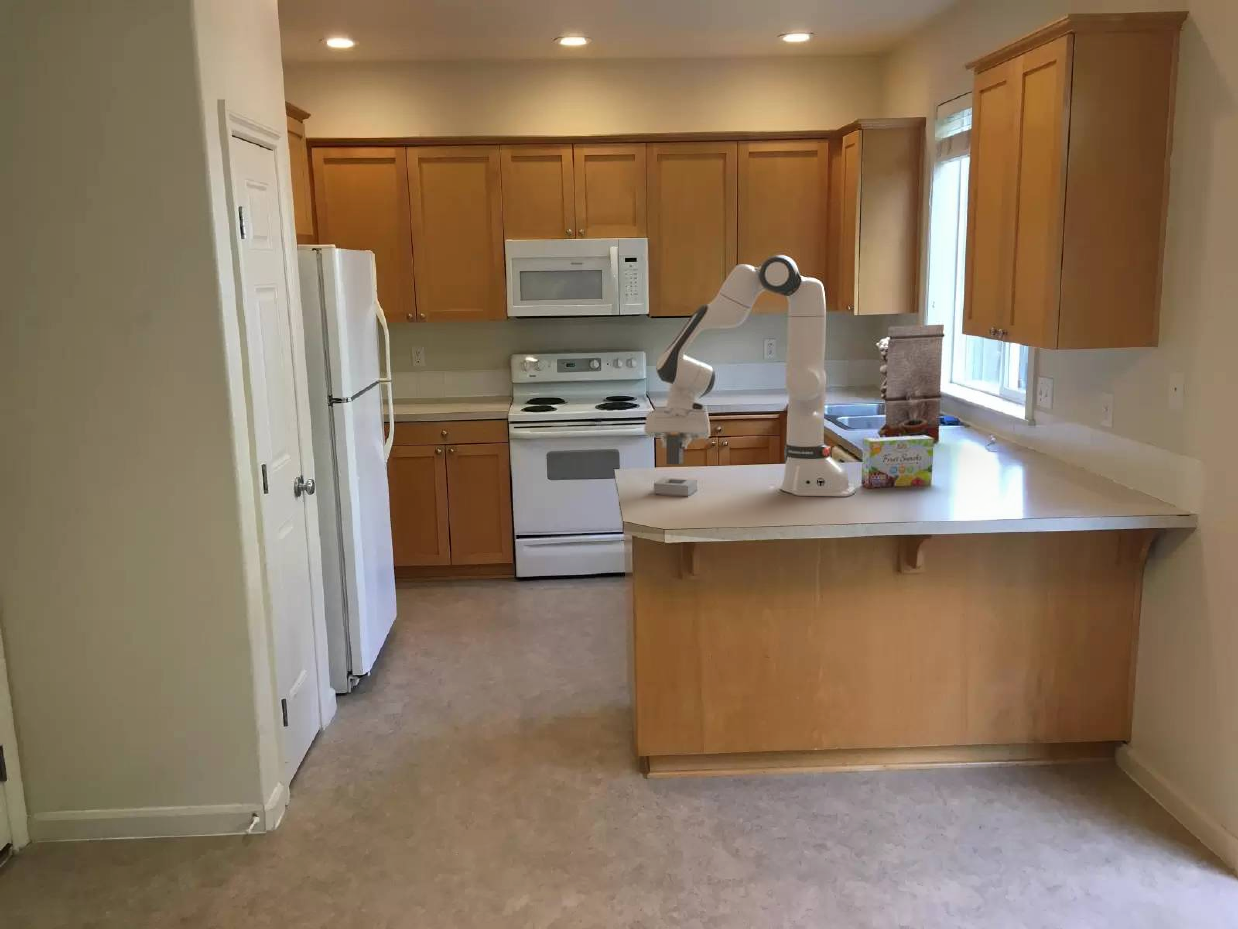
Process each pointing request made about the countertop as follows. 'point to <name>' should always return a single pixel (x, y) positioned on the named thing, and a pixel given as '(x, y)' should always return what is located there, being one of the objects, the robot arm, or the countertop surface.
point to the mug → (909, 428)
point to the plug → (674, 448)
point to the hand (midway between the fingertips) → (674, 447)
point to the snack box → (897, 461)
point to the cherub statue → (912, 376)
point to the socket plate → (675, 486)
